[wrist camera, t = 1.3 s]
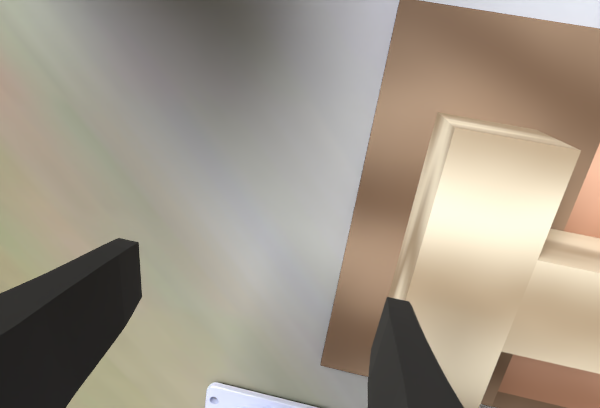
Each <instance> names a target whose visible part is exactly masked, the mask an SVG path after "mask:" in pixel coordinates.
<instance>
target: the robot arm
mask: <svg viewBox="0 0 600 408" xmlns="http://www.w3.org/2000/svg"><path fill="white" fill-rule="evenodd" d="M141 297H142V290H141V274H140V258H139V242H134V241H130V240H125V239H121V238H118V239H116V240H113V241H111V242H109V243H107V244H105V245H103V246H101V247H98V248H96V249H94V250H92V251H90V252H88V253H86V254H84V255H82V256H80V257H78V258H76V259H74V260H72V261H70V262H68V263H66V264H64V265H62V266H60V267H58V268H56V269H54V270H52V271H50V272H48V273H46V274H43V275H41V276H39V277H37V278H34V279H32V280H30V281H28V282H25V283H23V284H21V285H19V286H16V287H14V288H12V289H10V290H7V291H5V292H2V293H0V408H66V406H67V405H68V403H69V402H70V401H71V399H72V398H73V396H74V395H75V393H76V392H77V391H78V389H79V388H80V387H81V385H82V384H83V383H84V381H85V380H86V379H87V377H88V376H89V375H90V373H91V372H92V371H93V369H94V368H95V367H96V365H97V364H98V363H99V361H100V360H101V359H102V357H103V356H104V355H105V353H106V352H107V351H108V349H109V348H110V347H111V345H112V344H113V343H114V341H115V340H116V338H117V337H118V336H119V334H120V333H121V332H122V330H123V329H124V327H125V326H126V324H127V323H128V321H129V319H130V317H131V316H132V314H133V312H134V310H135V308H136V307H137V305H138V303H139V301H140V299H141ZM214 397H216V398H217V399H215V398H214ZM205 408H318V407H314V406H310V405H306V404H302V403H298V402H294V401H290V400H286V399H282V398H278V397H274V396H270V395H266V394H262V393H258V392H254V391H250V390H246V389H242V388H237V387H233V386H229V385H225V384H221V383H217V382H214V383H211V384H210V385H209V387H208V389H207V394H206V404H205ZM368 408H464V407H463V405H462V403H461V402H460V400H459V399H458V397H457V395H456V393H455V392H454V390H453V388H452V387H451V385H450V383H449V382H448V380H447V378H446V376H445V374H444V373H443V371H442V369H441V367H440V365H439V363H438V361H437V359H436V357H435V355H434V353H433V352H432V350H431V347H430V345H429V343H428V341H427V339H426V337H425V335H424V333H423V331H422V328H421V326H420V324H419V321H418V319H417V317H416V314H415V312H414V309H413V307H412V305H411V303H410V302H409V301H405V300H400V299H395V298H391V297H387V298H386V301H385V304H384V308H383V311H382V314H381V318H380V321H379V324H378V328H377V331H376V334H375V337H374V341H373V344H372V347H371V354H370V364H369V375H368Z"/></svg>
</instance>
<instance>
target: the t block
mask: <svg viewBox="0 0 600 408" xmlns="http://www.w3.org/2000/svg"><path fill="white" fill-rule="evenodd" d="M580 152H581V150H579V149H577V148H574V147H572V146H570V145H568V144H566V143H564V142H562V141H559V140H557V139H555V138H553V137H551V136H549V135H546V134H544V133H542V132H540V131H538V130H534V129H529V128H523V127H518V126H512V125H507V124H501V123H495V122H490V121H484V120H479V119H473V118H468V117H462V116H456V115H451V114H445V113H440V112H438V113H437V117H436V120H435V124H434V128H433V132H432V135H431V139H430V143H429V146H428V150H427V154H426V158H425V161H424V165H423V169H422V173H421V176H420V180H419V184H418V187H417V191H416V195H415V199H414V202H413V206H412V210H411V213H410V217H409V221H408V225H407V228H406V232H405V236H404V240H403V243H402V247H401V251H400V254H399V258H398V262H397V266H396V269H395V273H394V277H393V281H392V284H391V288H390V292H389V295H388V297H391V298H395V299H400V300H405V301H409V302H410V303H411V305H412V307H413V309H414V312H415V314H416V317H417V319H418V321H419V324H420V326H421V328H422V331H423V333H424V335H425V337H426V339H427V341H428V343H429V345H430V347H431V350H432V352H433V353H434V355H435V357H436V359H437V361H438V363H439V365H440V367H441V369H442V371H443V373H444V374H445V376H446V378H447V380H448V382H449V383H450V385H451V387H452V388H453V390H454V392H455V393H456V395H457V397H458V399H459V400H460V402H461V403H462V405H463V407H464V408H479V406H480V404H481V401H482V399H483V396H484V394H485V391H486V389H487V386H488V384H489V381H490V379H491V376H492V374H493V371H494V369H495V366H496V364H497V361H498V359H499V356H500V354H501V352H505V353H510V354H514V355H519V356H523V357H527V358H532V359H536V360H541V361H545V362H549V363H554V364H558V365H563V366H567V367H571V368H576V369H580V370H585V371H589V372H594V373H598V374H600V238H595V237H590V236H585V235H580V234H575V233H570V232H565V231H560V230H555V229H550V228H551V225H552V223H553V220H554V218H555V215H556V213H557V210H558V208H559V205H560V203H561V200H562V198H563V195H564V193H565V190H566V188H567V185H568V183H569V180H570V177H571V175H572V172H573V170H574V167H575V165H576V162H577V160H578V157H579V155H580Z"/></svg>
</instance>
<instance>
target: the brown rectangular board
mask: <svg viewBox="0 0 600 408" xmlns="http://www.w3.org/2000/svg"><path fill="white" fill-rule="evenodd" d="M438 112H440V113H445V114H451V115H456V116H462V117H468V118H473V119H479V120H484V121H490V122H495V123H501V124H507V125H512V126H518V127H523V128H529V129H534V130H538V131H540V132H542V133H544V134H546V135H549V136H551V137H553V138H555V139H557V140H559V141H562V142H564V143H566V144H568V145H570V146H572V147H574V148H577V149H579V150H581V152H580V155H579V157H578V160H577V162H576V165H575V167H574V170H573V172H572V175H571V177H570V180H569V183H568V185H567V188H566V190H565V193H564V195H563V198H562V200H561V203H560V205H559V208H558V210H557V213H556V215H555V218H554V220H553V223H552V225H551V228H550V229H555V230H560V231H565V232H570V233H575V234H580V235H585V236H590V237H595V238H600V29H598V28H592V27H585V26H579V25H572V24H566V23H560V22H553V21H547V20H540V19H534V18H528V17H521V16H515V15H508V14H502V13H496V12H489V11H483V10H476V9H470V8H464V7H457V6H451V5H444V4H438V3H432V2H425V1H419V0H400V1H399V6H398V10H397V15H396V19H395V24H394V29H393V33H392V38H391V42H390V47H389V52H388V56H387V61H386V65H385V70H384V74H383V79H382V84H381V88H380V93H379V97H378V102H377V107H376V111H375V116H374V120H373V125H372V130H371V134H370V139H369V143H368V148H367V153H366V157H365V162H364V166H363V171H362V176H361V180H360V185H359V189H358V194H357V198H356V203H355V208H354V212H353V217H352V221H351V226H350V231H349V235H348V240H347V244H346V249H345V254H344V258H343V263H342V267H341V272H340V277H339V281H338V286H337V290H336V295H335V299H334V304H333V309H332V313H331V318H330V322H329V327H328V332H327V336H326V341H325V345H324V350H323V355H322V359H321V366H325V367H329V368H334V369H338V370H342V371H346V372H350V373H355V374H359V375H363V376H367V377H368V375H369V364H370V354H371V347H372V344H373V341H374V337H375V334H376V331H377V328H378V324H379V321H380V318H381V314H382V311H383V308H384V304H385V301H386V298H387V297H388V295H389V292H390V288H391V284H392V281H393V277H394V273H395V269H396V266H397V262H398V258H399V254H400V251H401V247H402V243H403V240H404V236H405V232H406V228H407V225H408V221H409V217H410V213H411V210H412V206H413V202H414V199H415V195H416V191H417V187H418V184H419V180H420V176H421V173H422V169H423V165H424V161H425V158H426V154H427V150H428V146H429V143H430V139H431V135H432V132H433V128H434V124H435V120H436V117H437V113H438ZM481 404H484V405H488V406H493V407H497V408H600V374H598V373H594V372H589V371H585V370H580V369H576V368H571V367H567V366H563V365H558V364H554V363H549V362H545V361H541V360H536V359H532V358H527V357H523V356H519V355H514V354H510V353H505V352H501V354H500V356H499V359H498V361H497V364H496V366H495V369H494V371H493V374H492V376H491V379H490V381H489V384H488V386H487V389H486V391H485V394H484V396H483V399H482V401H481Z"/></svg>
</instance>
